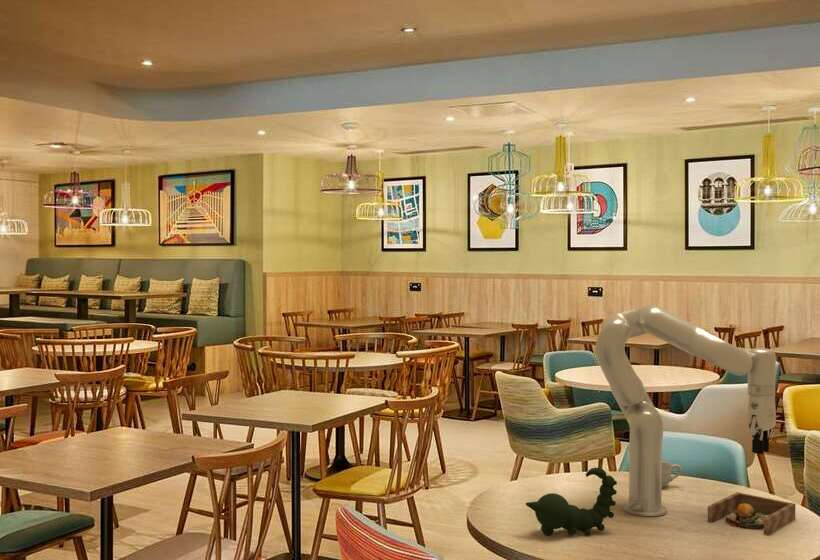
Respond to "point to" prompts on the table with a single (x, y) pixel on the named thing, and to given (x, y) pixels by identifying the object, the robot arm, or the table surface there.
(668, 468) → the teacup
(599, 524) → the toy figurine
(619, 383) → the robot arm
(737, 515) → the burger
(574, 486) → the table surface
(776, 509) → the wooden u-shaped wall
